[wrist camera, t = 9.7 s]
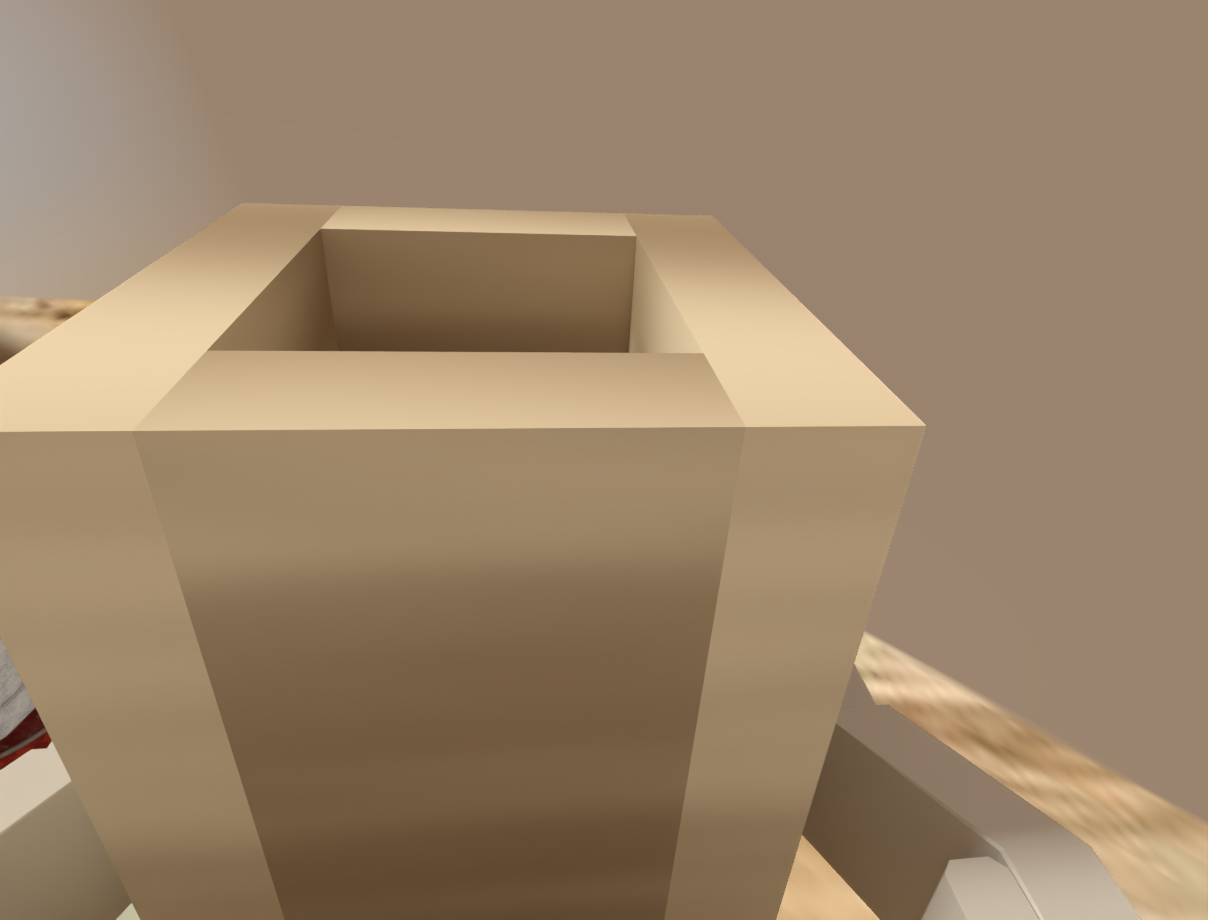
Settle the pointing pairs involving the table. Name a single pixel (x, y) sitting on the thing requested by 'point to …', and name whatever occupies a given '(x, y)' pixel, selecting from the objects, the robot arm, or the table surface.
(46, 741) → the canned food
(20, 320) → the table surface
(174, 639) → the sleeve
